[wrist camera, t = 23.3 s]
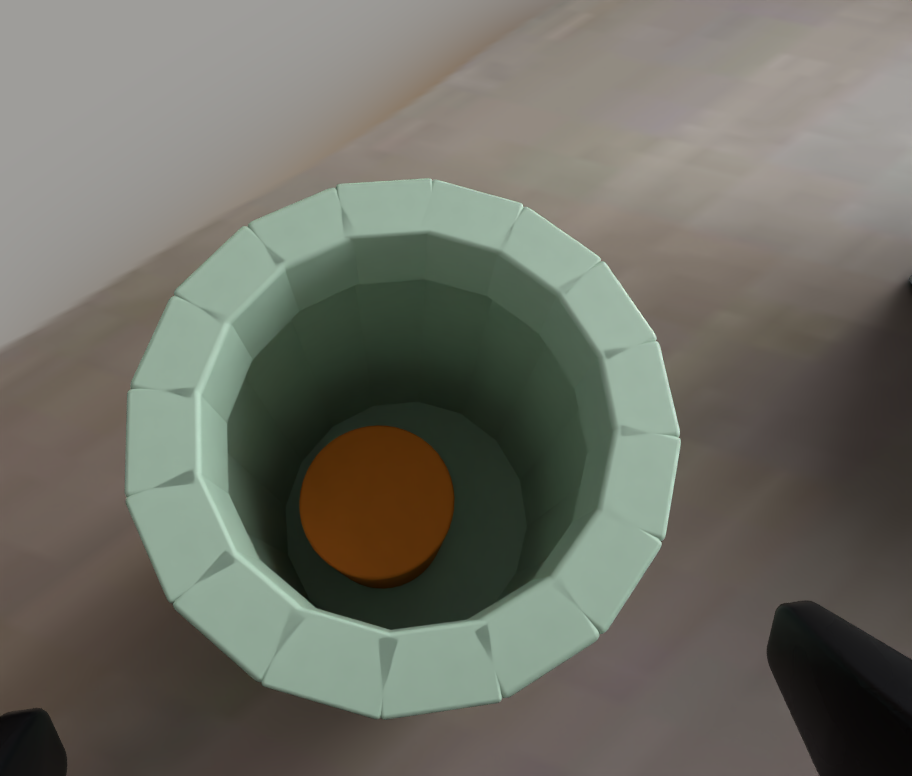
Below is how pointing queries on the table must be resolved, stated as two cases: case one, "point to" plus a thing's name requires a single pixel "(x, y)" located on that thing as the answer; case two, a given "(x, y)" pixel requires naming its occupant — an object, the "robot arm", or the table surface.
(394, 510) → the cylinder
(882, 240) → the table surface
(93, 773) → the table surface
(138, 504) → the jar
